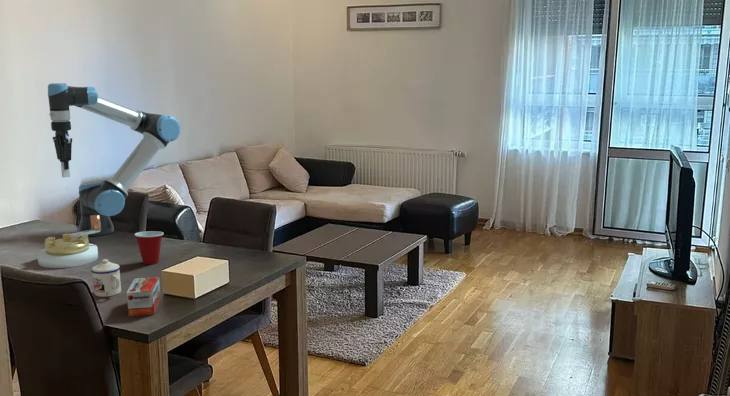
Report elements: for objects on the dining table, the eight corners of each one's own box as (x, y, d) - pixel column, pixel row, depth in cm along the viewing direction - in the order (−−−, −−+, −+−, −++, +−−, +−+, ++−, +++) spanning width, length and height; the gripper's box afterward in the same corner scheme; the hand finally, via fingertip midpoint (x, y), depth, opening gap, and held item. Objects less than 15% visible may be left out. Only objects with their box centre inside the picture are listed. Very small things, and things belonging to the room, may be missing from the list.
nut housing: (94, 249, 292) (93, 239, 291) (102, 262, 273) (101, 252, 272) (36, 257, 282) (35, 247, 281) (40, 271, 263) (39, 260, 262)
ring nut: (58, 257, 266) (55, 228, 263) (37, 251, 275) (34, 222, 273) (112, 244, 283) (110, 217, 281) (90, 238, 293) (88, 212, 291)
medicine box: (136, 300, 231) (134, 277, 229) (161, 299, 232) (159, 276, 230) (127, 317, 216) (125, 292, 214) (154, 315, 217) (153, 291, 216)
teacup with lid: (88, 293, 238) (85, 260, 235) (112, 286, 244) (110, 254, 242) (107, 301, 230) (104, 267, 228) (132, 293, 237) (129, 260, 235)
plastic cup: (171, 259, 277) (169, 230, 274) (154, 267, 266) (152, 236, 264) (148, 257, 280) (145, 228, 278) (130, 265, 270) (128, 234, 268)
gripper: (44, 120, 292) (50, 176, 297) (58, 122, 284) (64, 179, 288) (62, 119, 298) (67, 174, 302) (76, 121, 289) (82, 177, 294)
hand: (66, 176), depth 295 cm, fingers closed
